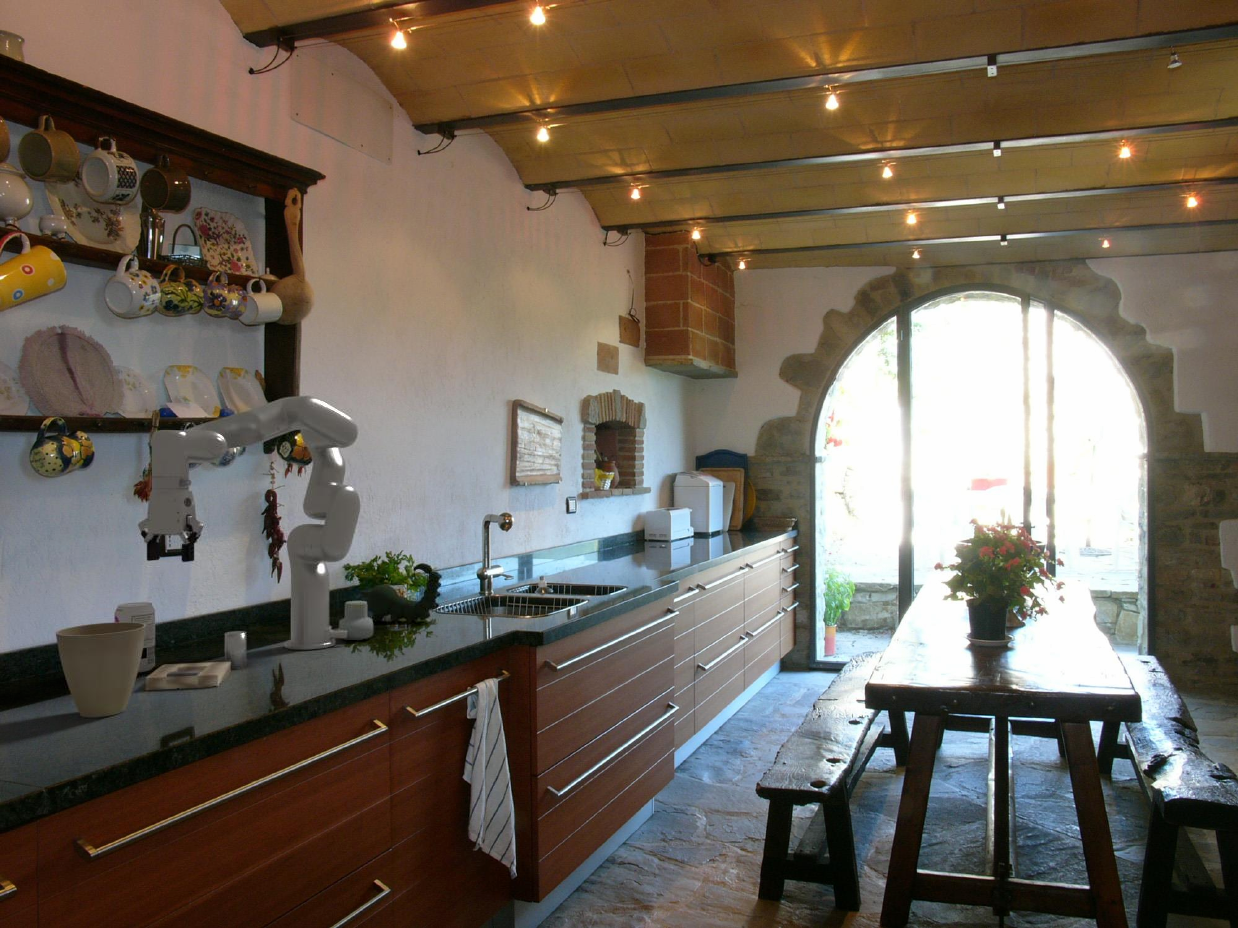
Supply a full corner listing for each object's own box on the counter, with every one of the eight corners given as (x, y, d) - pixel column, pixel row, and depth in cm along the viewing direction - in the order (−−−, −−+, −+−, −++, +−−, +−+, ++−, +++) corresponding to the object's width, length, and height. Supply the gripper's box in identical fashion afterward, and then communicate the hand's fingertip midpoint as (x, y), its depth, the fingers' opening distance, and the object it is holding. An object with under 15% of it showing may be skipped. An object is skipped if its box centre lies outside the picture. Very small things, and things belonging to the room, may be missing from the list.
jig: (230, 672, 211) (230, 658, 211) (217, 686, 198) (217, 671, 198) (163, 675, 208) (163, 661, 208) (145, 689, 195) (145, 675, 195)
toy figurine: (440, 625, 286) (362, 616, 289) (446, 563, 286) (367, 555, 289) (430, 630, 276) (350, 621, 279) (436, 566, 276) (355, 558, 279)
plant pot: (125, 699, 187) (125, 619, 187) (160, 711, 178) (160, 626, 178) (42, 714, 175) (42, 629, 176) (74, 727, 166) (74, 637, 166)
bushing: (247, 664, 220) (247, 630, 220) (244, 668, 215) (244, 634, 215) (226, 665, 219) (226, 631, 219) (222, 669, 214) (222, 634, 215)
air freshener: (374, 641, 250) (374, 603, 250) (342, 643, 247) (342, 605, 247) (369, 634, 260) (369, 598, 260) (338, 636, 257) (338, 600, 257)
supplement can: (110, 674, 209) (110, 607, 210) (119, 667, 217) (119, 602, 217) (150, 672, 212) (150, 606, 212) (158, 665, 220) (158, 601, 220)
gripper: (213, 484, 212) (213, 560, 212) (153, 484, 218) (152, 558, 218) (189, 485, 205) (189, 563, 205) (126, 485, 211) (126, 561, 210)
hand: (170, 560), depth 211 cm, fingers open, 9 cm apart
